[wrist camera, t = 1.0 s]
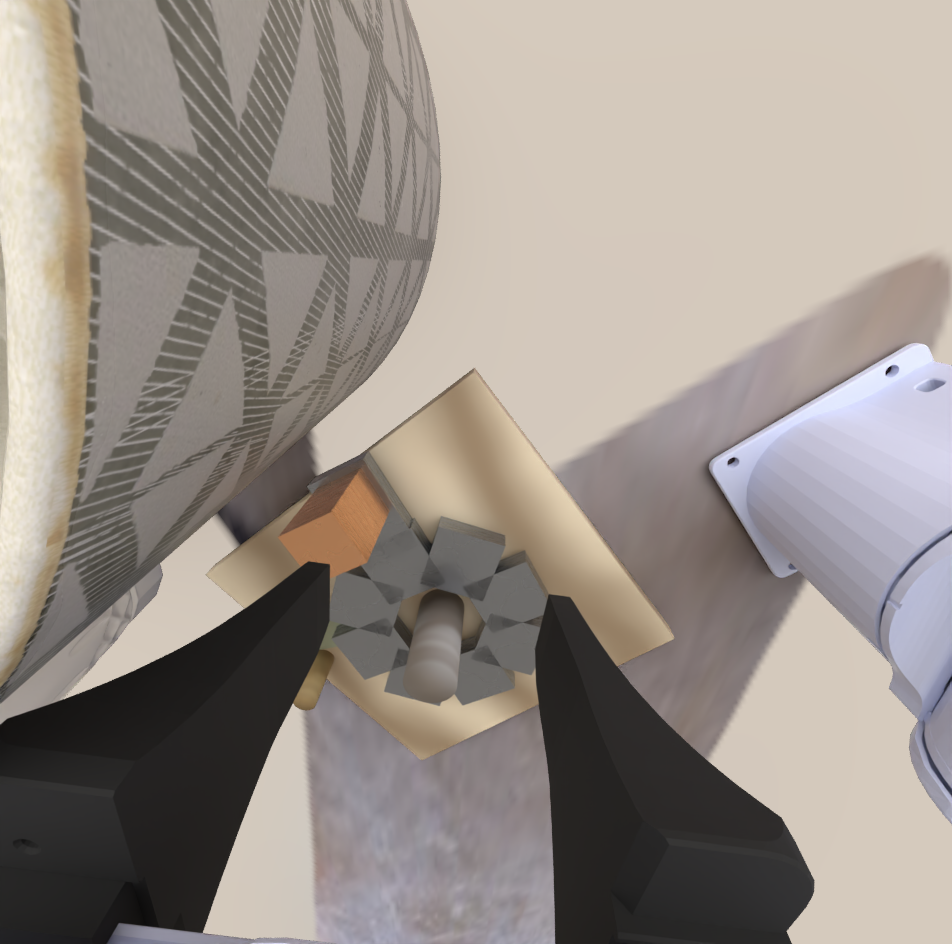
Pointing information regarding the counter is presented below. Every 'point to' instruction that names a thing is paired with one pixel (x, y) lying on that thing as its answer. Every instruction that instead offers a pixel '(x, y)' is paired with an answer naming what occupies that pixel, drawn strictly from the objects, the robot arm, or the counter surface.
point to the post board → (448, 614)
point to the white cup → (81, 651)
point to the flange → (414, 580)
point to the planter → (187, 269)
